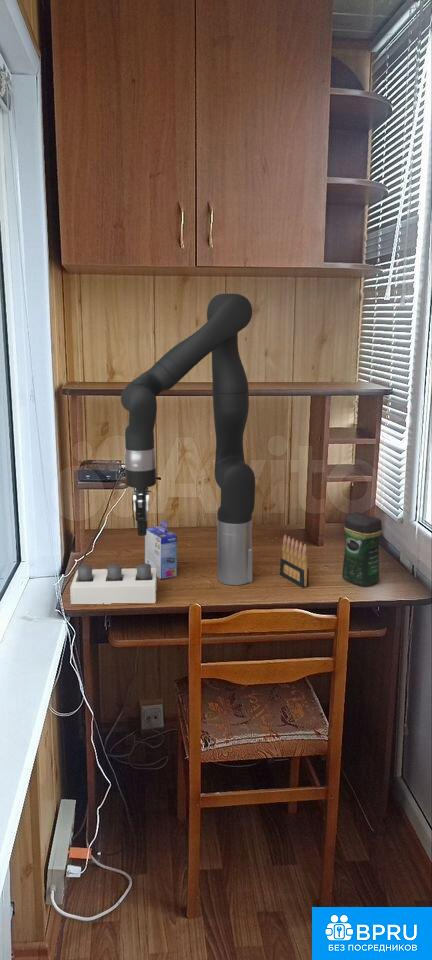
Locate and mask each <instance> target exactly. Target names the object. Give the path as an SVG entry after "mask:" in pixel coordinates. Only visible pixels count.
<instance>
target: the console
mask: <svg viewBox="0 0 432 960" xmlns="http://www.w3.org/2000/svg"><path fill="white" fill-rule="evenodd" d="M73 576H74V577H73V579H72V582H71V583H70V587H69V590H70V591H69V592H70V593H69V594H70V605H71V604H103V603H104V604H111V603H155V602H156V603H157V593H156V591H157V589H158V577H157V568H151V580H137V567H136V568H133V567H132V568H122V581H108V573H107V568H102V569H101V568H98V569H96V568H95V569H93V568H92V578H93V582H78V569H76V570H75V574H74V575H73Z"/></svg>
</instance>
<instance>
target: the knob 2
mask: <svg viewBox="0 0 432 960" xmlns="http://www.w3.org/2000/svg"><path fill="white" fill-rule="evenodd" d="M136 568H137V580H151V565H150V564H146V563H145V562H144V563H139V564H137V565H136Z"/></svg>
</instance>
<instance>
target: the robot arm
mask: <svg viewBox="0 0 432 960" xmlns="http://www.w3.org/2000/svg"><path fill="white" fill-rule="evenodd" d="M252 316H253V306H252V304H251V301H250V300H249V299H248V298H247V297H246V296H244V295H242V294H240V293H219V294H217V295H214V296H213V298H211V299H210V301H209V302H208V305H207V309H206V320H207V321H206V323H204V324H203V325H202V326H201V327H200V328H199V329H198V330H196V331H195V332H194V333H192V334H190V335H189V336H188V337H187V338H185V339H183V340H182V341H180V342H179V343H177V344H175V345H174V346H173V347H172V348H171V349H169V350H168V351H167V352H166V353H165V354H163V356H162V357H160V358H159V359H158V360H157V361H156V362H155V363H154V364H153V365H152V366H151V367H150V368H149V369H148V370H146V371H144V372H143V373H141V374H140V375H138V376H137V377H136V378H134V379H133V380H132V381H130V382H129V383H128V384H127V385H126V386H125V388H124V389H123V390H122V391H121V395H120V402H121V405H122V407H123V408H124V409H125V411H127V412H128V425H127V426H126V428H125V432H124V433H125V435H124V436H125V437H124V438H125V440H124V442H125V443H124V444H125V445H124V446H125V453H124V468H125V485H126V486H127V487H130V488H134V489H135V490H133V493H132V494H133V495H132V497H133V499H132V500H133V502H134V505H133V506H134V507H133V508H134V512H135V521H136V525H137V536H138V537H140V536H141V537H142V536H144V537H145V535H146V534H147V529H146V528H148V514H149V507H150V498H151V497H150V495H151V491H150V489H149V488H150V487H151V488H152V487H154V486H155V485H156V484H157V459H156V451H155V434H154V429H155V425H156V419H157V411H158V410H157V409H158V407H157V406H158V402H157V396H159V395H160V394H161V393H162V392H164V391H165V392H167V391H169V390H171V389H172V388H174V386H175V385H177V384H178V383H179V382H180V381H181V380H182V379H183V378H184V377H185V376H186V375H187V374H188V373H189V372H190V371H192V369H194V368H195V366H197V365H198V364H199V362H201V361H202V360H203V359H205V358H206V357H207V355H209V354H210V353H211V373H212V374H211V377H212V407H213V422H214V431H215V432H214V433H215V458H214V459H215V460H214V479H215V482H216V484H217V486H218V487H219V488H220V506H219V507H218V508H217V516H216V517H217V522H216V525H217V535H216V537H217V539H216V540H217V580H218V582H220V583H221V584H224V585H229V586H242V585H245V584H249V583H253V570H254V569H253V568H254V567H253V560H254V559H253V557H254V556H253V555H254V552H253V551H254V550H253V539H252V538H253V536H252V534H253V533H252V532H253V530H252V529H253V513H254V509H255V503H256V502H255V500H256V477H255V472H254V470H253V469H252V468H251V467H250V465H249V464H247V463H246V460H245V454H244V453H245V452H244V432H245V429H246V425H247V421H248V417H249V408H250V400H249V399H250V395H249V394H250V392H249V382H248V378H247V375H246V374H247V373H246V371H245V368H244V365H243V363H242V359H241V356H240V352H239V344H238V343H239V341H238V340H239V337H238V335H239V334H238V333H239V332H240V331H242V330H243V329H245V328H246V327H247V326H248V325H249V323H250V322H251V320H252V318H253V317H252Z"/></svg>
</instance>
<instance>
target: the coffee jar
mask: <svg viewBox="0 0 432 960" xmlns="http://www.w3.org/2000/svg"><path fill="white" fill-rule="evenodd" d="M346 515H347V516H346V517H345V519H344V520H345V522H344V525H343V527H344V528H343V530H344V534H345V547H344V548H345V549H344V557H343V563H342V564H343V565H342V579H344V580H345V581H347V582H349V583H352V584H354V585H356V586H361V587H365V586H370V587H371V586H374V585H375V584H377V583H378V582H379V581H380V555H379V554H380V549H379V548H380V545H379V544H380V538H381V536H382V535H381V534H382V533H383V529H382V528H383V527H382V526H383V525H382V519H380V518H379V517H375V516H374V517H373V516H370V515H367V514H364V513H361V512H358V511H356V512H352V513H349V514H346Z"/></svg>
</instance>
